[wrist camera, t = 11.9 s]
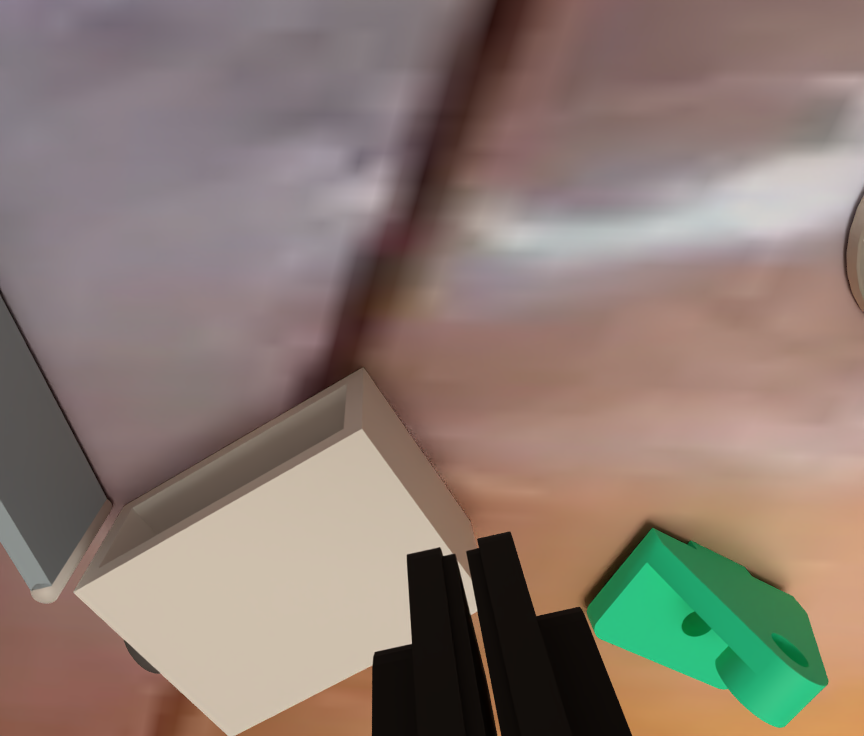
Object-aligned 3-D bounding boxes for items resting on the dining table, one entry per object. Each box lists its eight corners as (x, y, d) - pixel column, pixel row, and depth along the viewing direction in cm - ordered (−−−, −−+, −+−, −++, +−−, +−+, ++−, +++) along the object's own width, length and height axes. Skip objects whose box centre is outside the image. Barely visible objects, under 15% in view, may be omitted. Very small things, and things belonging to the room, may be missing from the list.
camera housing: (363, 366, 36) (362, 428, 29) (470, 522, 40) (489, 604, 34) (101, 519, 38) (46, 607, 31) (230, 649, 42) (206, 750, 36)
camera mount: (575, 603, 44) (632, 746, 34) (645, 517, 41) (727, 644, 32) (711, 662, 47) (797, 807, 37) (783, 585, 45) (894, 718, 35)
